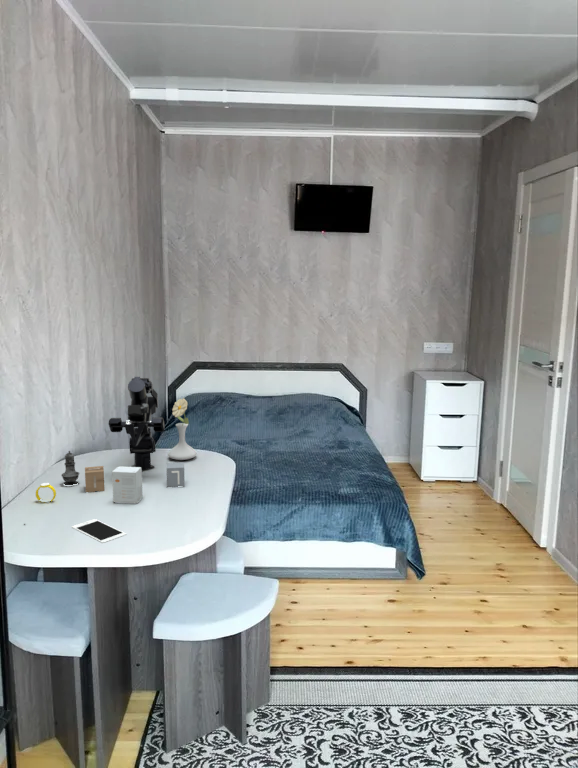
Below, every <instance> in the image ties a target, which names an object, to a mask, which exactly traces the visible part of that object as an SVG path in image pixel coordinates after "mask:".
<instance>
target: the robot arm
mask: <svg viewBox="0 0 578 768" xmlns="http://www.w3.org/2000/svg"><path fill="white" fill-rule="evenodd" d="M153 387H154V384H153V382H152V380H150V378H149V377H141V376H134V377H132V378H131V380H130V381H129V382H128V384H127V389H128V392H129V396H130V399H131V401H130V405H128V406H127V420H125V421H122V417H110V418H109V419H108V427H109V429H110V432H111V433H121V432H122V431H123V430H124V429H123V428H125V432H126V434H127V435H130V437H129V442H128V443H129V454H134V465H133V464H132V465H130V467H141V469H142V471H145V470H149V469H153V468H155V466H154V465H152V463H151V462H152V460H151V459H152V458H151V454H153V453H155V452H156V441H155V440H154V437H152V431H151V428H152V429H153V431H154V432H156V433H160V432H161V433H163V432H165V421H164V420H165V419H164V418H163V417H161V416H160V417H152V415H154V414H155V413H156V412H157V408H159V395H158V392H157V391H156V390H155V389H154V388H153ZM147 394H150V395H151V396H148V395H147Z"/></svg>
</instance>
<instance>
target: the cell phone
mask: <svg viewBox="0 0 578 768" xmlns="http://www.w3.org/2000/svg"><path fill="white" fill-rule="evenodd" d="M71 528H72V529H74V530H75V531H78V532H80V533H82V534H83V535H86V536H87V537H90V538H91V539H93V540H96V541H97V542H99V543H102V544H105V543H108V542H110V541H114V540H116V539H119V538H121V537H125V536H127V532H124V531H122V530H120V529H118V528H116V527H114V526H111V525H109V524H108V523H105V522H103V521H101V520H99V519H96V518H93V519H90V520H87V521H84V522H81V523H77V524H75V525H71Z"/></svg>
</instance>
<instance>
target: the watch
mask: <svg viewBox="0 0 578 768" xmlns="http://www.w3.org/2000/svg"><path fill="white" fill-rule="evenodd" d="M41 488H43V489H45V488H49V489H51V491H52V492H53V493H52V494H53V497H52V498H51V499H50V500H51V502H53V501H54V500H55V499H56V496H57V492H56V491H57V490H56V489H55V488H54V486H52V485H51V484H50V482H43V483H40V485H39V486H38V487H37V488H36V490H35V498H36V499H37V501H39V500H40V499H42V497H40V495H39V490H40V489H41Z"/></svg>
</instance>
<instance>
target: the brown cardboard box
mask: <svg viewBox="0 0 578 768" xmlns="http://www.w3.org/2000/svg"><path fill="white" fill-rule="evenodd" d="M84 479H85V480H84V481H85V484H84V485H85V493H86V492H88V493H96V492H95V491H99V492H105V469H104V465H97V466H85V467H84Z"/></svg>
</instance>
